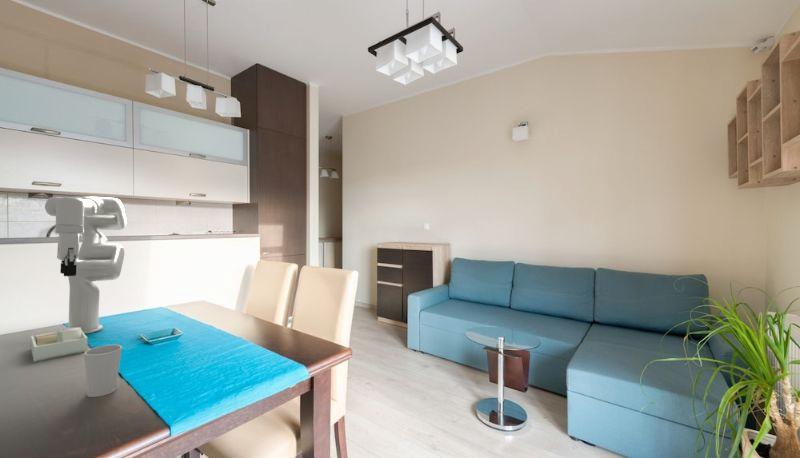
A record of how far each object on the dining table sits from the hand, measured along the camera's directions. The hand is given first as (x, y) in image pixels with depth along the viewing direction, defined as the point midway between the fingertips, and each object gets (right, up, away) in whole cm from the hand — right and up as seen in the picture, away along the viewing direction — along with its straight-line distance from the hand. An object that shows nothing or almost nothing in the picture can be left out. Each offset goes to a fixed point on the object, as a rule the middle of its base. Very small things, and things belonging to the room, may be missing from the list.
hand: (68, 274), depth 122 cm
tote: (-2, -28, -2) cm, 28 cm away
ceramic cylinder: (+2, -28, -1) cm, 28 cm away
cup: (+41, -30, -30) cm, 59 cm away
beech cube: (-6, -28, -2) cm, 28 cm away
